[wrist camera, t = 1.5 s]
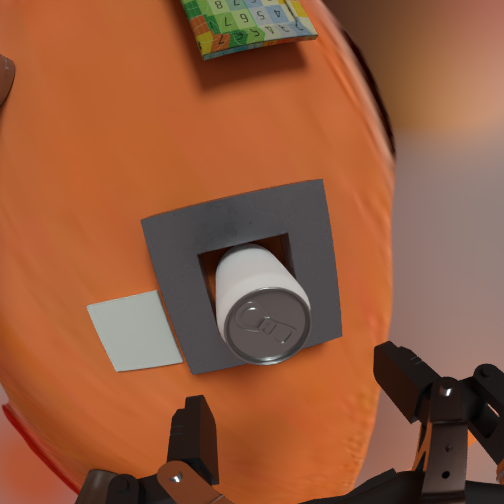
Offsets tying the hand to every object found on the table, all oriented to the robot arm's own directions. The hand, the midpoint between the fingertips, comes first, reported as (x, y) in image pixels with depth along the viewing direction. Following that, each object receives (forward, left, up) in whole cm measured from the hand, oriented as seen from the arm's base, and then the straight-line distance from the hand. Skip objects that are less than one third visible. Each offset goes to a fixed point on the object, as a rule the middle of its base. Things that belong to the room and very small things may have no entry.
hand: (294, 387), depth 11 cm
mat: (-14, -4, -18) cm, 23 cm away
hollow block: (0, 0, -18) cm, 18 cm away
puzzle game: (+5, +32, -18) cm, 37 cm away
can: (0, 0, -18) cm, 18 cm away
